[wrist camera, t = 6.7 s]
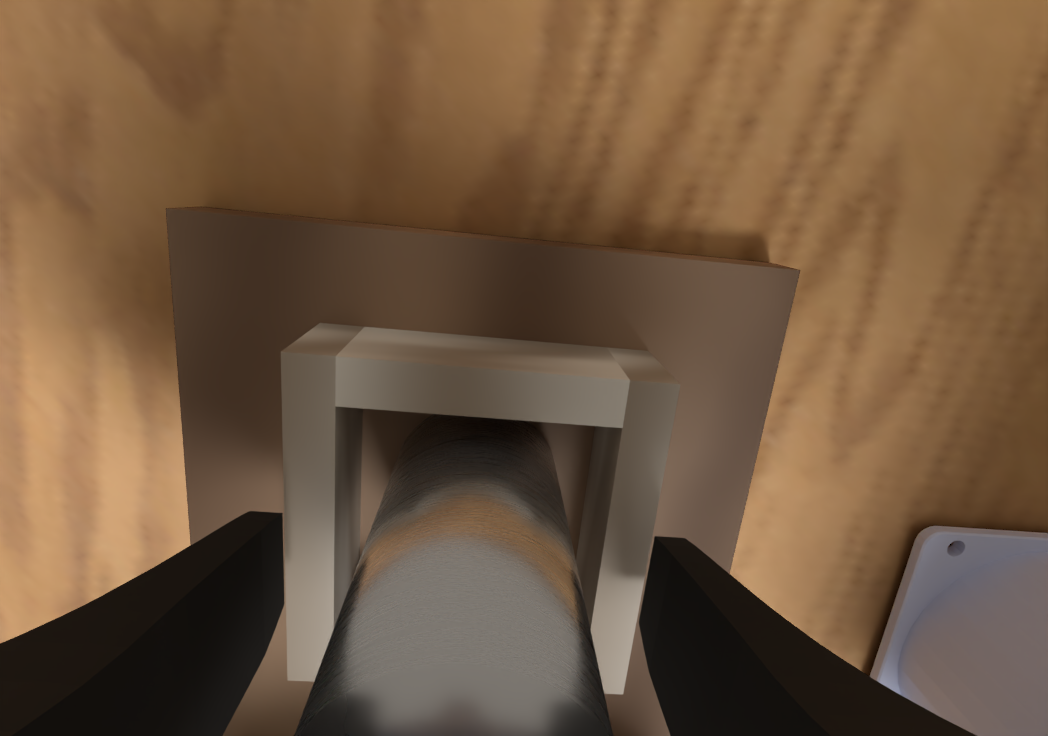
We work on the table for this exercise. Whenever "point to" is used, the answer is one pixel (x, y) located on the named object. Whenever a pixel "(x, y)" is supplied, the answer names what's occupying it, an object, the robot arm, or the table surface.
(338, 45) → the table surface
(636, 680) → the socket stand
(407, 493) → the steel peg
